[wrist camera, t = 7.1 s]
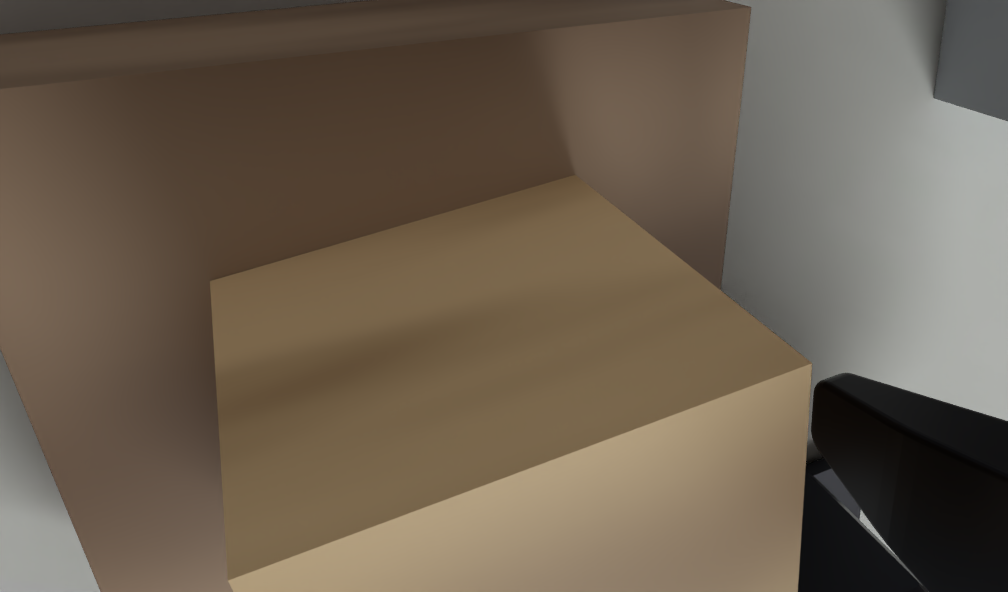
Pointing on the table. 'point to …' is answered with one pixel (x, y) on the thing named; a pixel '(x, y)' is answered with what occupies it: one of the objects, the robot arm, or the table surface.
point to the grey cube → (975, 57)
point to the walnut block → (301, 199)
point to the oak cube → (505, 413)
